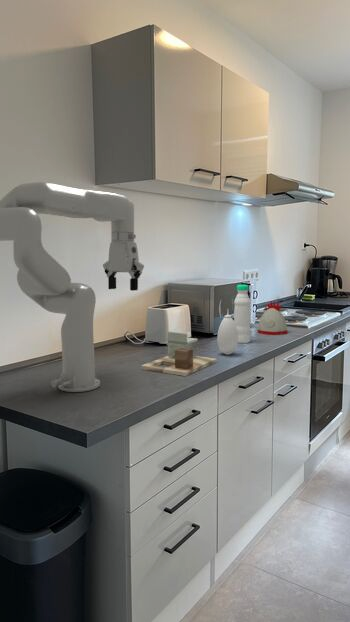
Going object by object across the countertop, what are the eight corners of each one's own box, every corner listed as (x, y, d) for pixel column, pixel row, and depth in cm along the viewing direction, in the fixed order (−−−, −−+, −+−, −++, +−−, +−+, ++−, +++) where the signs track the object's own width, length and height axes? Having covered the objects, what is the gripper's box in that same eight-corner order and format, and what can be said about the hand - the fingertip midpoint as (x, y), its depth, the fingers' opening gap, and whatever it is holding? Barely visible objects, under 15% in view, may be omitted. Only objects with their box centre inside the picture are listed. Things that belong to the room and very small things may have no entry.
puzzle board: (185, 376, 157) (185, 372, 156) (140, 369, 166) (140, 365, 166) (216, 361, 175) (216, 358, 175) (175, 356, 185) (175, 352, 184)
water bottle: (237, 344, 205) (238, 285, 202) (231, 340, 212) (231, 284, 208) (252, 343, 207) (253, 285, 204) (246, 339, 214) (246, 283, 210)
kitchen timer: (281, 336, 222) (281, 304, 220) (253, 333, 229) (253, 302, 227) (290, 331, 233) (291, 300, 231) (264, 329, 241) (264, 299, 239)
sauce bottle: (213, 354, 187) (213, 308, 184) (226, 351, 192) (226, 306, 190) (229, 357, 181) (229, 310, 179) (241, 354, 187) (242, 308, 184)
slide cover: (186, 359, 172) (186, 333, 171) (167, 356, 177) (167, 331, 175) (197, 355, 179) (197, 330, 178) (179, 352, 183) (179, 328, 182)
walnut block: (186, 369, 161) (186, 351, 160) (174, 367, 163) (174, 350, 162) (193, 366, 164) (193, 349, 163) (181, 364, 167) (181, 347, 166)
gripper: (150, 238, 157) (150, 290, 159) (111, 238, 167) (111, 288, 169) (135, 237, 151) (135, 291, 153) (95, 238, 161) (96, 289, 163)
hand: (123, 289), depth 161 cm, fingers open, 9 cm apart
